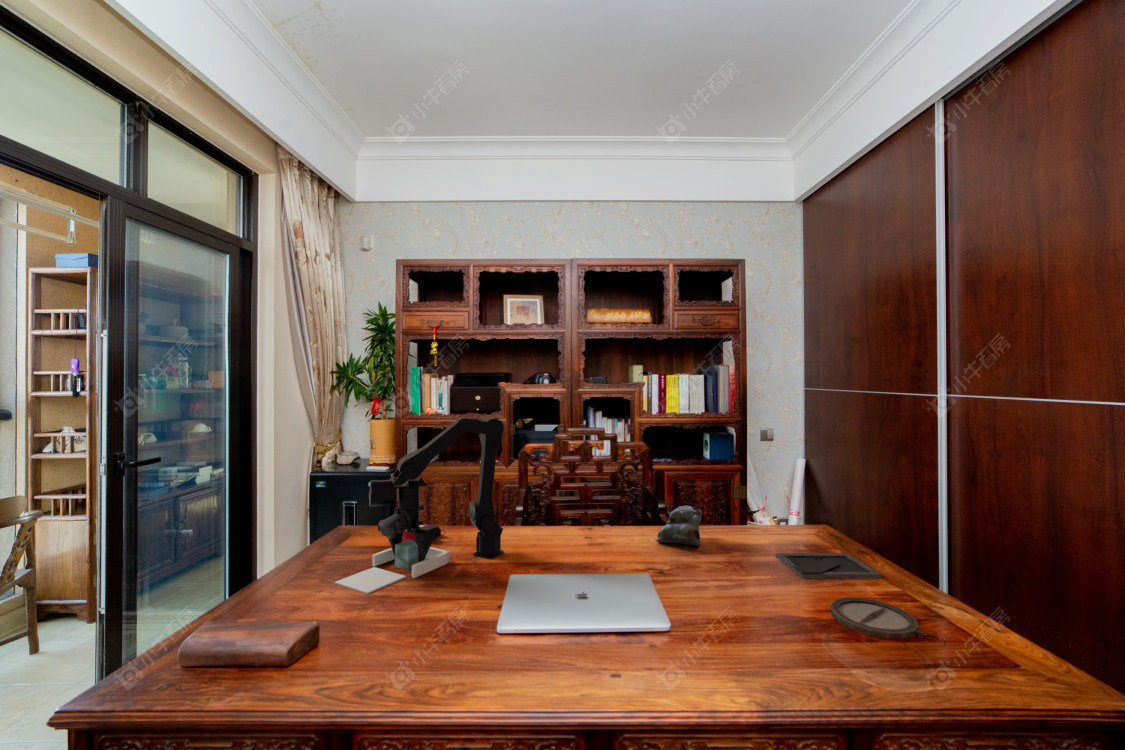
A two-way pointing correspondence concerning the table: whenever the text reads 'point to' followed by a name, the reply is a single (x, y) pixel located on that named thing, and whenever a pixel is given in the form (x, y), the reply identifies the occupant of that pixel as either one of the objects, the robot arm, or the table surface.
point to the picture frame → (826, 565)
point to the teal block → (406, 554)
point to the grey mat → (370, 580)
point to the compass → (875, 618)
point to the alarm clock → (412, 536)
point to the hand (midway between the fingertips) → (408, 560)
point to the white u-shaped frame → (432, 562)
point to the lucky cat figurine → (682, 526)
